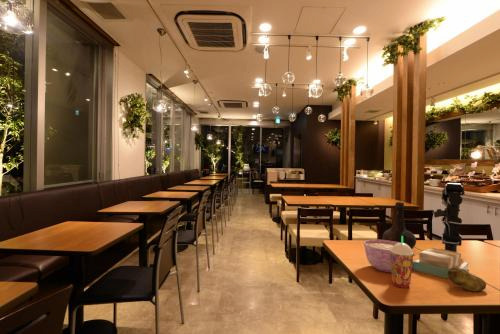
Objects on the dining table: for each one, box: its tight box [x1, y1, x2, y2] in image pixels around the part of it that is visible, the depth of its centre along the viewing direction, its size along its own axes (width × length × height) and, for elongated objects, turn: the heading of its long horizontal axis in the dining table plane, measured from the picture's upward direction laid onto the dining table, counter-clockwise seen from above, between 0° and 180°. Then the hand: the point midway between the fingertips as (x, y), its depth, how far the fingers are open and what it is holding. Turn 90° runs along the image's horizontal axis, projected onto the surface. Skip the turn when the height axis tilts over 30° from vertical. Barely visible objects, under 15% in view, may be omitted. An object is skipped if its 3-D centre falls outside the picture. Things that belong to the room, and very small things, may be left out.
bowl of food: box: [363, 239, 399, 273], centre depth 144 cm, size 20×20×12 cm
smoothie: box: [391, 236, 415, 289], centre depth 125 cm, size 8×8×20 cm
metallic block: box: [419, 247, 462, 269], centre depth 145 cm, size 16×12×8 cm
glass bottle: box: [381, 201, 417, 250], centre depth 178 cm, size 18×18×28 cm
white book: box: [412, 259, 469, 280], centre depth 146 cm, size 23×18×4 cm
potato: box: [447, 267, 487, 292], centre depth 122 cm, size 8×13×8 cm, turn 57°
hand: (449, 236), depth 159 cm, fingers open, 9 cm apart
